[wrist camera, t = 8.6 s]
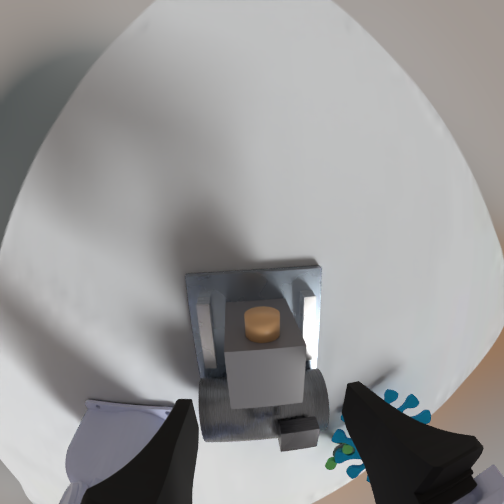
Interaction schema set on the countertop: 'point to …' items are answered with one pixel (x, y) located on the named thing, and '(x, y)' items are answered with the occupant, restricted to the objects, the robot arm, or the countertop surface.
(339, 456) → the gear
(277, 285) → the motor mount
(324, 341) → the countertop surface
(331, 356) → the countertop surface
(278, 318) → the grey knobbed block
